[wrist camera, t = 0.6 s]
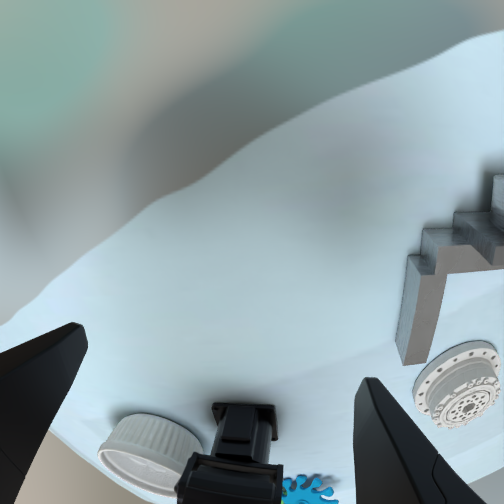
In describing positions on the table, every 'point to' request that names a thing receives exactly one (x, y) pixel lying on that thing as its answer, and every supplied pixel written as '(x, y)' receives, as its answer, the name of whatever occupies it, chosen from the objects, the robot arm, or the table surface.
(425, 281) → the clevis bracket
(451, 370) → the mechanical component
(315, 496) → the gear
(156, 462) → the ramekin
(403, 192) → the table surface
